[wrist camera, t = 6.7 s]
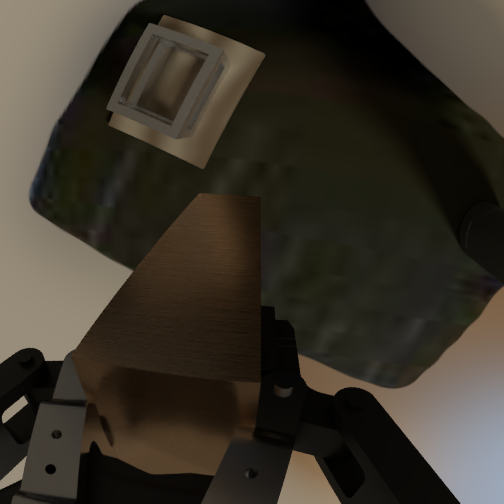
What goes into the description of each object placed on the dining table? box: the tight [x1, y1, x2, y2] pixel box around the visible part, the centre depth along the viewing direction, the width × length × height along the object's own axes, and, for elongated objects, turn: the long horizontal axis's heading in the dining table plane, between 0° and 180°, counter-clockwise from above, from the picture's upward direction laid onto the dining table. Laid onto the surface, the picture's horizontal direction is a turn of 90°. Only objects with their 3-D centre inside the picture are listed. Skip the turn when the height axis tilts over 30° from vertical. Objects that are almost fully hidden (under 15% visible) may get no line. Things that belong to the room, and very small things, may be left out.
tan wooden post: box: [71, 193, 261, 476], centre depth 14 cm, size 4×6×16 cm
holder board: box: [109, 15, 265, 169], centre depth 34 cm, size 14×16×1 cm
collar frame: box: [106, 23, 231, 139], centre depth 30 cm, size 8×10×8 cm
